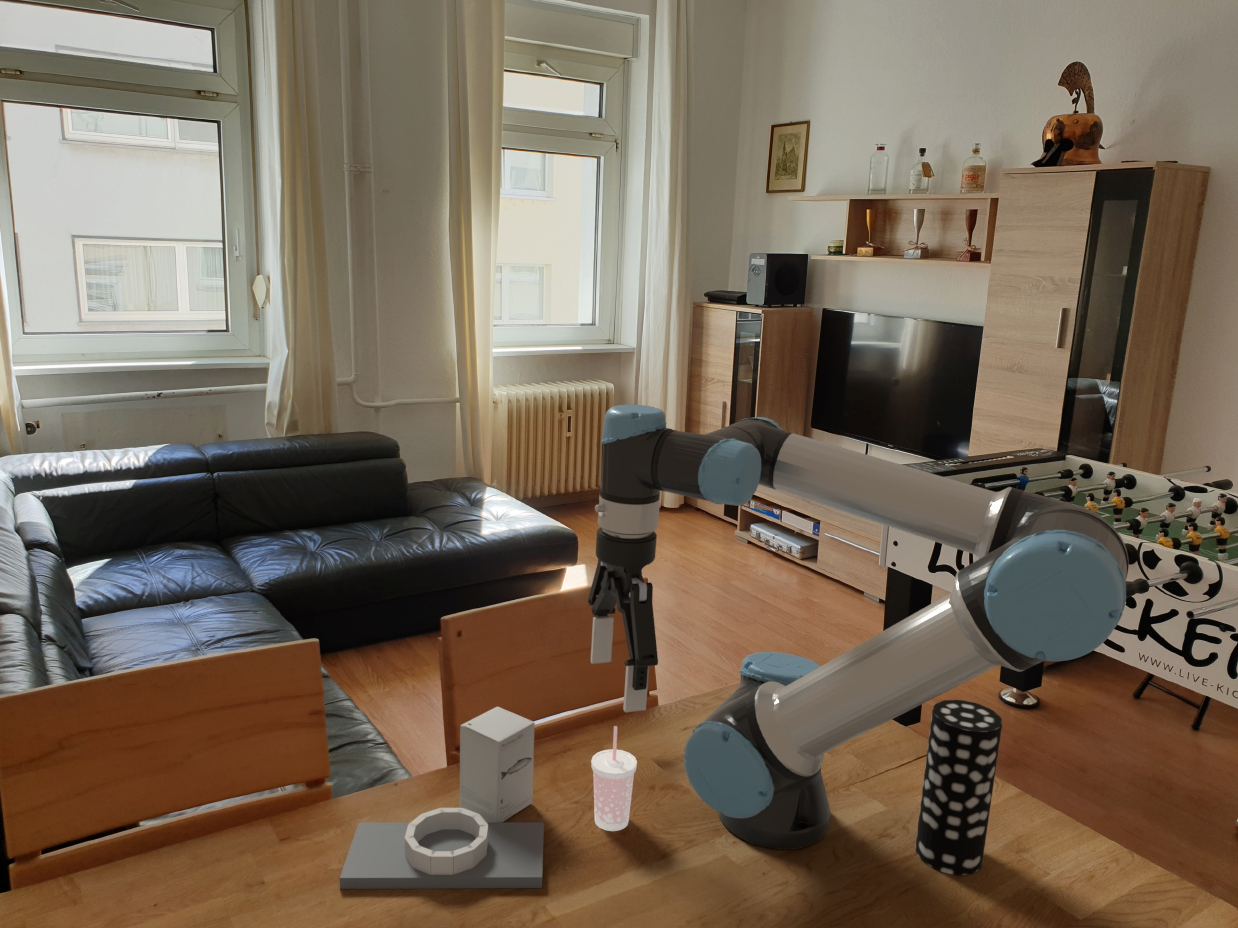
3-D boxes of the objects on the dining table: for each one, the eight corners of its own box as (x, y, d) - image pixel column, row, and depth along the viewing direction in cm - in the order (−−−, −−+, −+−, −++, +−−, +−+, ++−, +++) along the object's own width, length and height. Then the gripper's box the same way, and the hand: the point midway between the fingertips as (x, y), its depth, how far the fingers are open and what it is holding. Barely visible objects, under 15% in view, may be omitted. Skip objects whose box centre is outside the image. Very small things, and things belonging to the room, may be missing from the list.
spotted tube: (912, 864, 121) (930, 722, 117) (917, 828, 129) (934, 694, 124) (981, 882, 118) (1002, 737, 114) (982, 844, 126) (1002, 707, 121)
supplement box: (496, 828, 125) (497, 742, 122) (457, 807, 129) (458, 723, 126) (534, 804, 131) (536, 721, 128) (495, 784, 135) (496, 703, 132)
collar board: (543, 832, 125) (544, 805, 124) (541, 887, 114) (542, 858, 113) (359, 832, 123) (358, 805, 122) (339, 888, 112) (338, 859, 111)
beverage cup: (612, 840, 124) (616, 743, 120) (579, 820, 128) (582, 726, 124) (643, 820, 128) (648, 727, 125) (610, 802, 132) (614, 710, 129)
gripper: (570, 502, 128) (563, 646, 133) (632, 565, 105) (620, 736, 110) (622, 500, 130) (613, 641, 135) (694, 561, 108) (680, 729, 113)
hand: (616, 684), depth 123 cm, fingers open, 13 cm apart
